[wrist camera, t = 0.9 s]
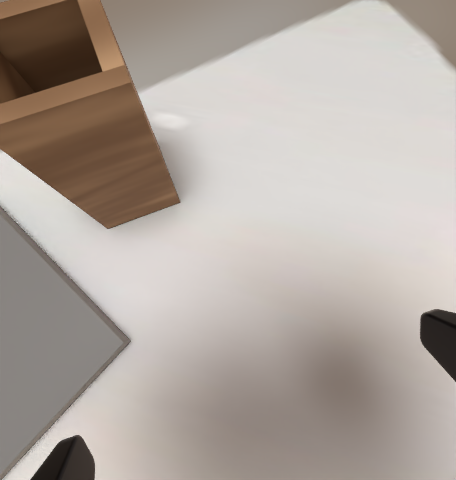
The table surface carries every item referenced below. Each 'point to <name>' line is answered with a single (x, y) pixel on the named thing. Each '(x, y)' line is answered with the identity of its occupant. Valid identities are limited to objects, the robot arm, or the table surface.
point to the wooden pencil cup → (78, 110)
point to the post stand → (43, 342)
